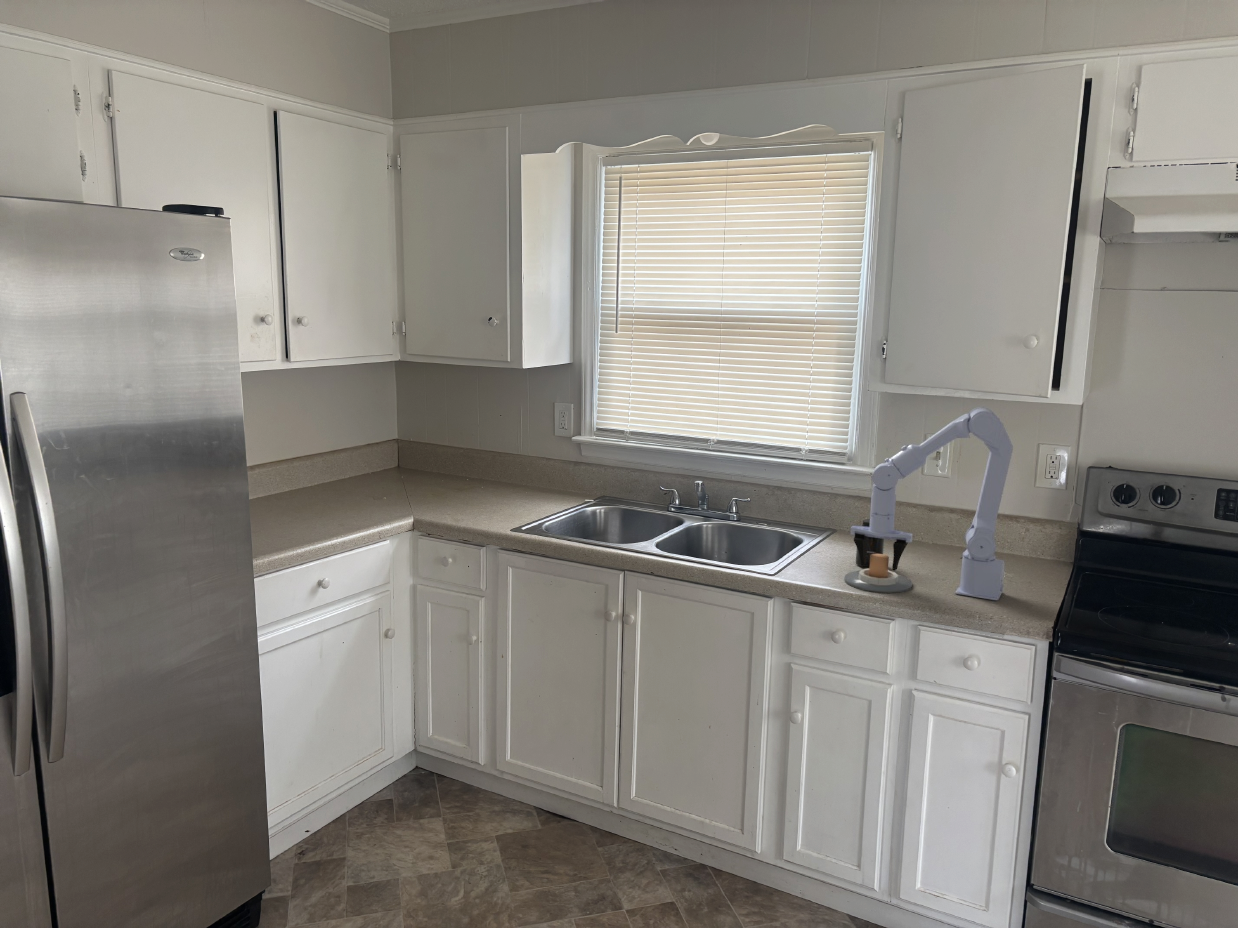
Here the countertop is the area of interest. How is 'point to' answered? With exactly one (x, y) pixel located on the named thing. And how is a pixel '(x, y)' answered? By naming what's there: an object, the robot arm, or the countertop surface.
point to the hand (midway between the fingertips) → (879, 566)
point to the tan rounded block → (878, 565)
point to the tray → (878, 588)
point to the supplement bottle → (870, 547)
